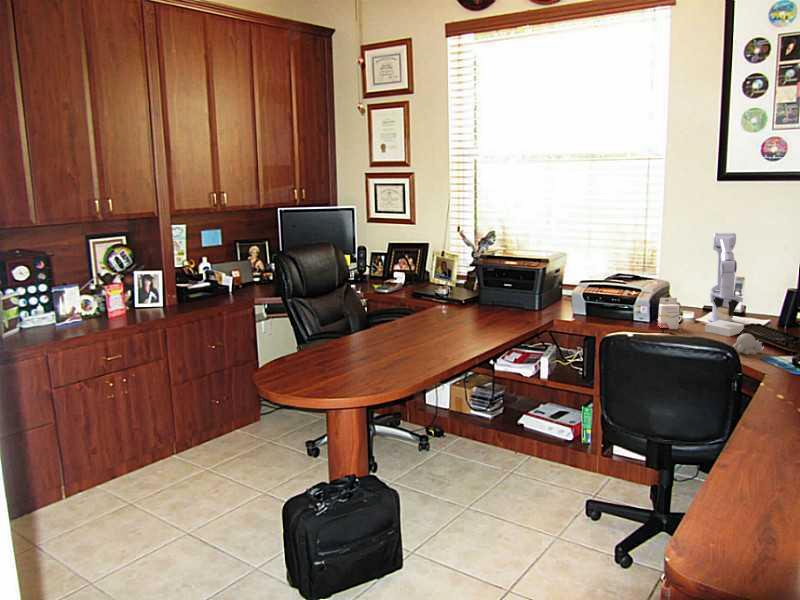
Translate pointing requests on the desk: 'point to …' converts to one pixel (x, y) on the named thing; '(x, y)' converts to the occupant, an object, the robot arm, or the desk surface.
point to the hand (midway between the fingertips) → (725, 314)
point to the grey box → (724, 328)
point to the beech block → (723, 312)
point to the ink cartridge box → (668, 313)
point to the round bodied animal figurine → (747, 344)
